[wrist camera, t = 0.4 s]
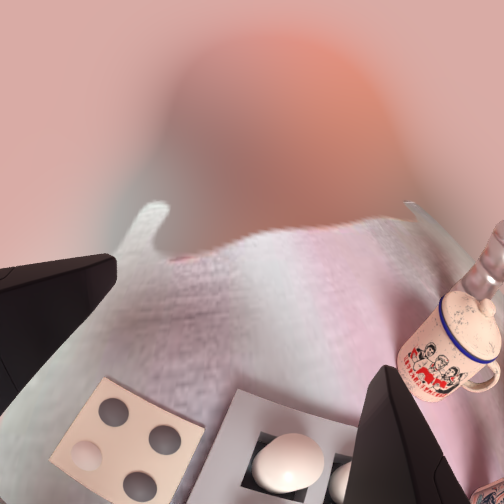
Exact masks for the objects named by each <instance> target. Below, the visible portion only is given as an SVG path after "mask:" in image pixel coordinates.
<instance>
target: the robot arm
mask: <svg viewBox="0 0 504 504" xmlns="http://www.w3.org/2000/svg"><path fill="white" fill-rule="evenodd" d="M116 280H117V261H116V258H115V257H113V256H111V255H109V254H106V253H104V254H97V255H90V256H83V257H76V258H70V259H62V260H55V261H48V262H42V263H35V264H29V265H22V266H16V267H9V268H2V269H0V416H1V415H2V414H3V412H4V411H5V410H6V409H7V407H8V406H9V405H10V404H11V402H12V401H13V400H14V399H15V398H16V396H17V395H18V394H19V393H20V391H21V390H22V389H23V388H24V387H25V386H26V384H27V383H28V382H29V381H30V380H31V379H32V377H33V376H34V375H35V374H36V373H37V372H38V371H39V369H40V368H41V367H42V366H43V365H44V364H45V363H46V362H47V360H48V359H49V358H50V357H51V356H52V355H53V354H54V353H55V352H56V351H57V349H58V348H59V347H60V346H61V345H62V344H63V343H64V342H65V341H66V340H67V339H68V338H69V337H70V335H71V334H72V333H73V332H74V331H75V330H76V329H77V328H78V327H79V326H80V325H81V324H82V323H83V322H84V321H85V320H86V319H87V318H88V317H89V315H90V314H91V313H92V312H93V311H94V310H95V308H96V307H97V306H98V305H99V303H100V302H101V301H102V300H103V298H104V297H105V296H106V295H107V293H108V292H109V291H110V290H111V288H112V287H113V286H114V285H115V283H116ZM0 504H6V503H5V502H4V501H3V500H2V499H1V498H0ZM343 504H471V503H470V501H469V499H468V498H467V496H466V494H465V493H464V491H463V489H462V487H461V486H460V484H459V482H458V481H457V479H456V477H455V475H454V473H453V471H452V469H451V467H450V466H449V464H448V462H447V460H446V458H445V456H443V452H442V450H441V448H440V446H439V444H438V442H437V440H436V438H435V436H434V435H433V433H432V431H431V429H430V427H429V425H428V423H427V421H426V420H425V418H424V416H423V414H422V412H421V411H420V409H419V407H418V405H417V403H416V402H415V400H414V398H413V396H412V394H411V393H410V391H409V389H408V387H407V386H406V384H405V382H404V381H403V379H402V377H401V375H400V374H399V372H398V370H397V369H396V368H394V367H391V366H388V365H383V366H382V367H381V368H380V370H379V371H378V372H377V374H376V375H375V377H374V378H373V379H372V381H371V382H370V384H369V386H368V390H367V394H366V398H365V402H364V406H363V410H362V414H361V418H360V421H359V425H358V429H357V434H356V439H355V445H354V451H353V457H352V462H351V467H350V472H349V477H348V482H347V487H346V491H345V496H344V500H343Z"/></svg>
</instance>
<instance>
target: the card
mask: <svg viewBox="0 0 504 504" xmlns="http://www.w3.org/2000/svg"><path fill="white" fill-rule="evenodd" d="M204 431H205V429H204V428H202V427H200V426H197V425H195V424H193V423H191V422H188V421H186V420H184V419H182V418H180V417H178V416H175V415H173V414H171V413H169V412H167V411H165V410H163V409H161V408H159V407H157V406H155V405H153V404H151V403H149V402H148V401H146V400H144V399H142V398H140V397H138V396H136V395H135V394H133V393H131V392H129V391H128V390H126V389H124V388H122V387H121V386H119V385H117V384H115V383H114V382H112V381H110V380H109V379H107V378H106V377H104V378H103V379H102V380H101V382H100V383H99V385H98V386H97V388H96V389H95V390H94V392H93V393H92V395H91V396H90V398H89V399H88V401H87V402H86V404H85V405H84V407H83V408H82V410H81V411H80V412H79V414H78V415H77V417H76V418H75V420H74V421H73V423H72V424H71V426H70V428H69V429H68V431H67V432H66V434H65V435H64V437H63V438H62V440H61V441H60V443H59V444H58V446H57V448H56V449H55V451H54V452H53V454H52V455H51V457H50V459H49V461H50V462H51V463H53V464H54V465H55V466H57V467H58V468H59V469H61V470H62V471H63V472H65V473H66V474H67V475H69V476H70V477H72V478H73V479H75V480H76V481H77V482H79V483H80V484H82V485H83V486H85V487H86V488H88V489H90V490H91V491H93V492H94V493H96V494H98V495H99V496H101V497H103V498H104V499H106V500H108V501H109V502H111V503H113V504H170V502H171V500H172V498H173V495H174V493H175V491H176V489H177V487H178V485H179V483H180V481H181V479H182V477H183V475H184V473H185V471H186V469H187V467H188V465H189V463H190V460H191V458H192V456H193V454H194V452H195V450H196V448H197V446H198V444H199V441H200V439H201V437H202V435H203V433H204Z"/></svg>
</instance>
